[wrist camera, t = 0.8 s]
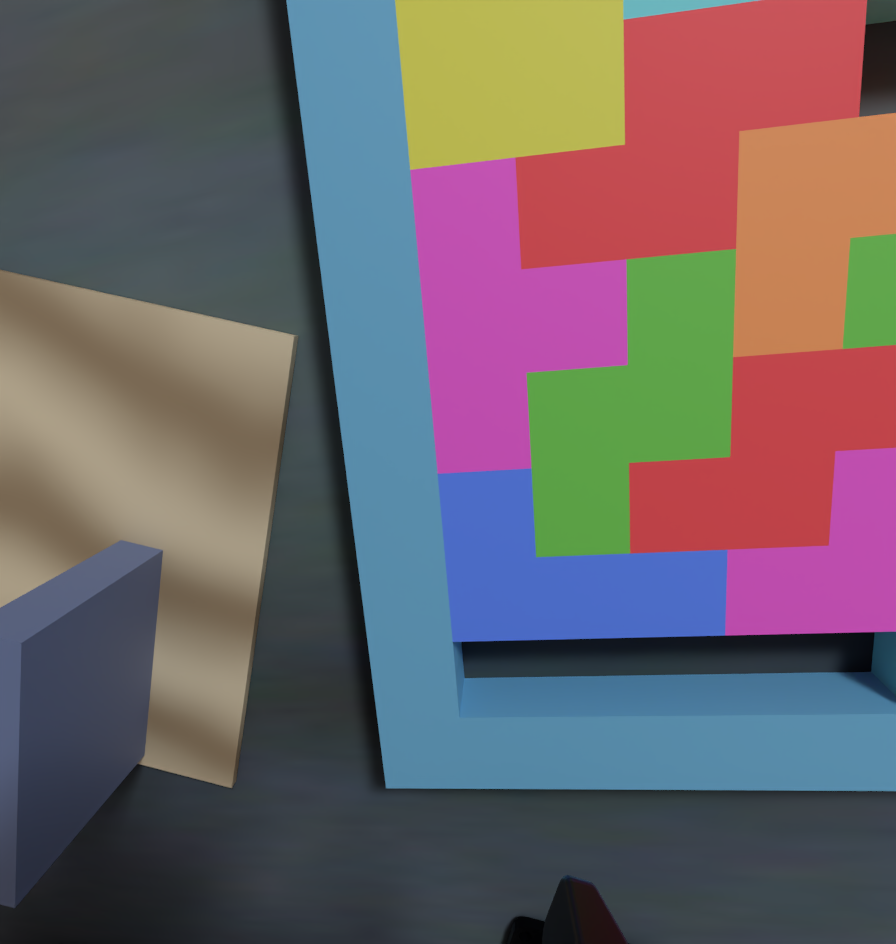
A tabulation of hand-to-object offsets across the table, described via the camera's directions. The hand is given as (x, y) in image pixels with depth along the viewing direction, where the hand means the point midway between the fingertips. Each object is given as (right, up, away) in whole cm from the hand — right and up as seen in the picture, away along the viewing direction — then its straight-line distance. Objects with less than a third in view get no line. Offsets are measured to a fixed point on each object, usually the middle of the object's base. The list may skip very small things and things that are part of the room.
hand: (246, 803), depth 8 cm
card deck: (-9, -2, +14) cm, 17 cm away
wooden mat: (-12, +2, +14) cm, 18 cm away
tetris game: (+14, +9, +11) cm, 19 cm away
